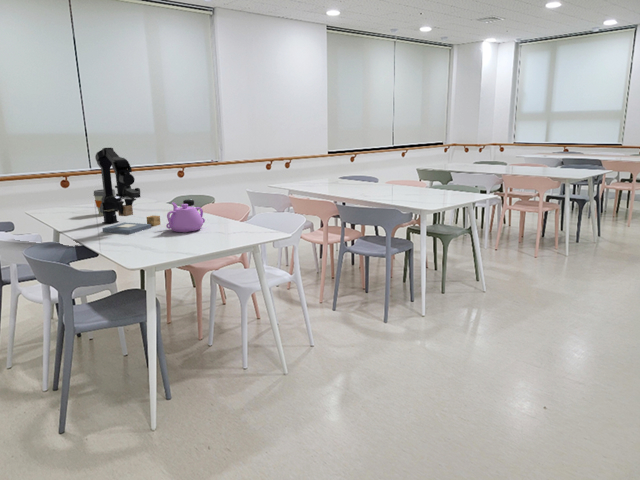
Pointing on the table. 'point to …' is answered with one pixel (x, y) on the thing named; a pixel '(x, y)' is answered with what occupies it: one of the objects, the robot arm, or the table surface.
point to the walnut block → (126, 210)
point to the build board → (126, 228)
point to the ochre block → (153, 220)
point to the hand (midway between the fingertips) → (125, 213)
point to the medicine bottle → (189, 203)
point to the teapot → (185, 218)
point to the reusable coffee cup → (98, 197)
